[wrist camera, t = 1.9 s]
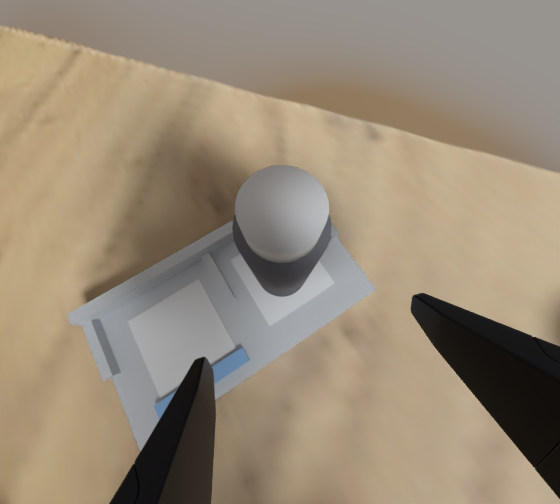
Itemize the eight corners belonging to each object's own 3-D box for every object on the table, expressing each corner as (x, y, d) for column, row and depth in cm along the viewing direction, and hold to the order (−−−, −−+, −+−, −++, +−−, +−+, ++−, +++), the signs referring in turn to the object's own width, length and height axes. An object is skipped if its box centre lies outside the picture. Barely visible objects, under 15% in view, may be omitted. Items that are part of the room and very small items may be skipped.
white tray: (301, 193, 24) (304, 179, 22) (374, 290, 21) (386, 286, 19) (91, 314, 21) (66, 314, 19) (144, 448, 18) (123, 468, 16)
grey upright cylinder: (315, 261, 22) (361, 184, 9) (292, 306, 20) (308, 287, 8) (272, 239, 22) (259, 138, 10) (247, 281, 21) (197, 228, 9)
